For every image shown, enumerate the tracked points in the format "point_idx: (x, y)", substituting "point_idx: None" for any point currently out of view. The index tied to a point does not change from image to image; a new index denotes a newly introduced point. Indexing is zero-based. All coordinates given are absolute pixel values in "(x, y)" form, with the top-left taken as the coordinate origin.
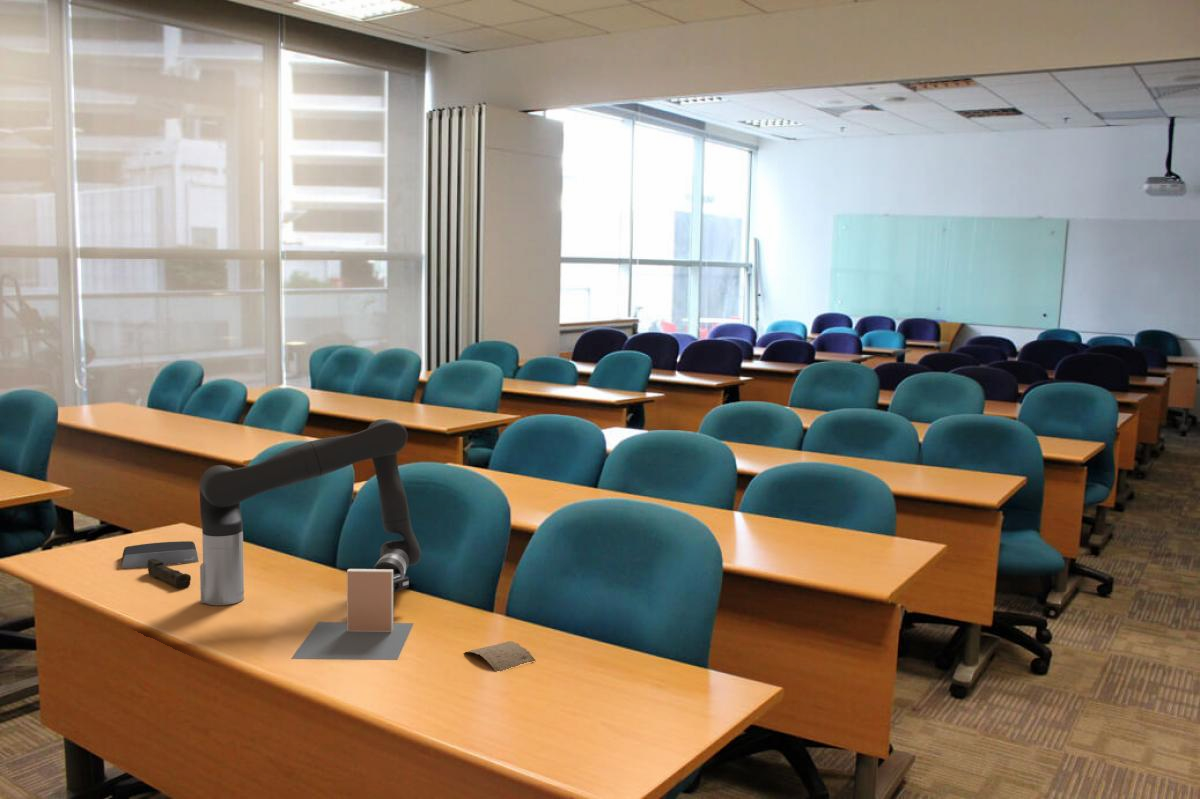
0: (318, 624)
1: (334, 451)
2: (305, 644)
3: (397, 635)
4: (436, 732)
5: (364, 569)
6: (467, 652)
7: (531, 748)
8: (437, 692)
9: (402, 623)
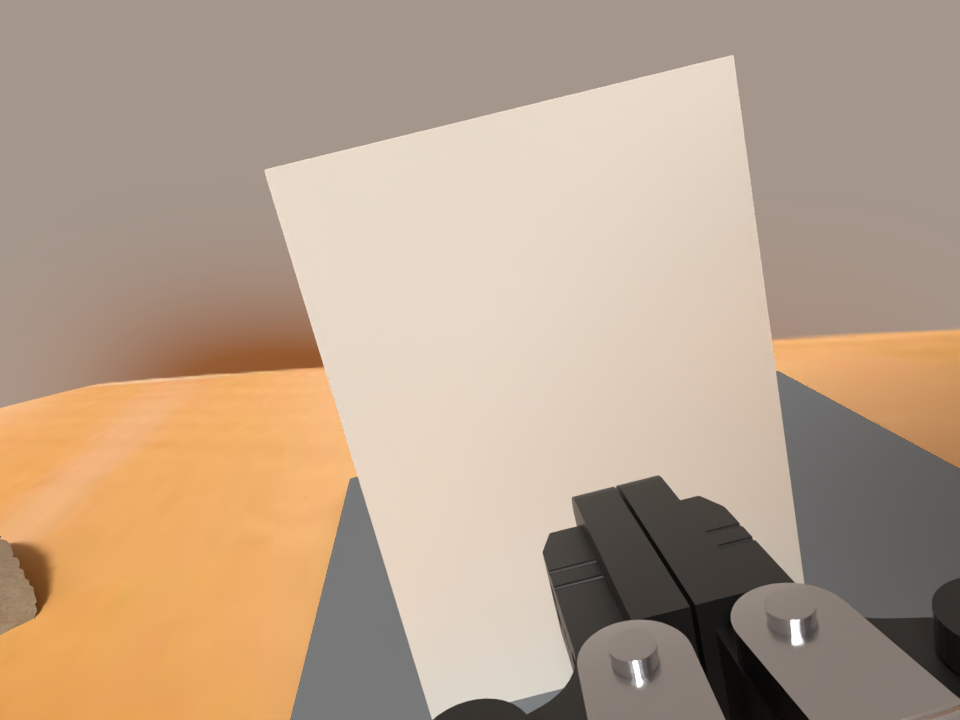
0: None
1: None
2: (853, 428)
3: (379, 643)
4: (255, 378)
5: (562, 98)
6: (12, 627)
7: (102, 404)
8: (229, 436)
9: None
